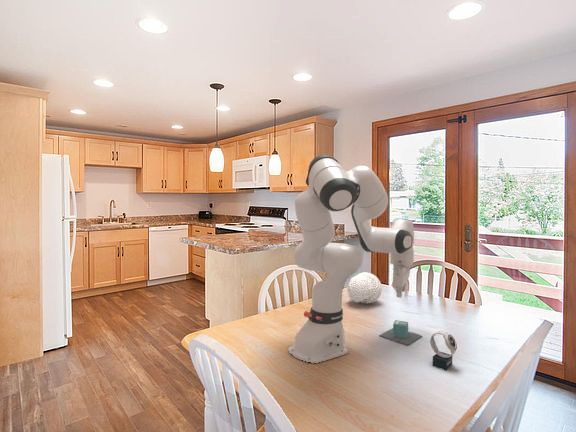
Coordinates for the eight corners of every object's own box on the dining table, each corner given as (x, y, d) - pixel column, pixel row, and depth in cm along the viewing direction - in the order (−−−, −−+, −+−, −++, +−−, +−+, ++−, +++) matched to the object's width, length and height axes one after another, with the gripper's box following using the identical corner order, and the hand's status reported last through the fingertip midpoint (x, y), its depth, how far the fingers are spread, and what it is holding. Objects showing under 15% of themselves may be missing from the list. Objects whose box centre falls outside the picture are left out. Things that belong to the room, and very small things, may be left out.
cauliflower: (358, 297, 188) (359, 268, 187) (388, 303, 176) (389, 272, 176) (340, 305, 172) (340, 274, 171) (372, 313, 161) (372, 279, 160)
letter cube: (406, 338, 130) (406, 325, 130) (393, 336, 133) (393, 323, 133) (408, 334, 135) (408, 321, 135) (395, 331, 137) (395, 319, 137)
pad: (407, 345, 125) (407, 344, 125) (379, 336, 134) (379, 335, 134) (422, 336, 134) (422, 335, 134) (394, 328, 142) (394, 327, 142)
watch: (452, 372, 106) (453, 338, 106) (427, 363, 112) (427, 331, 111) (458, 366, 110) (459, 333, 110) (433, 358, 116) (434, 327, 115)
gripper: (406, 264, 122) (405, 301, 122) (413, 256, 140) (412, 289, 140) (388, 262, 125) (388, 299, 125) (397, 255, 143) (396, 287, 143)
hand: (400, 294), depth 133 cm, fingers open, 8 cm apart
